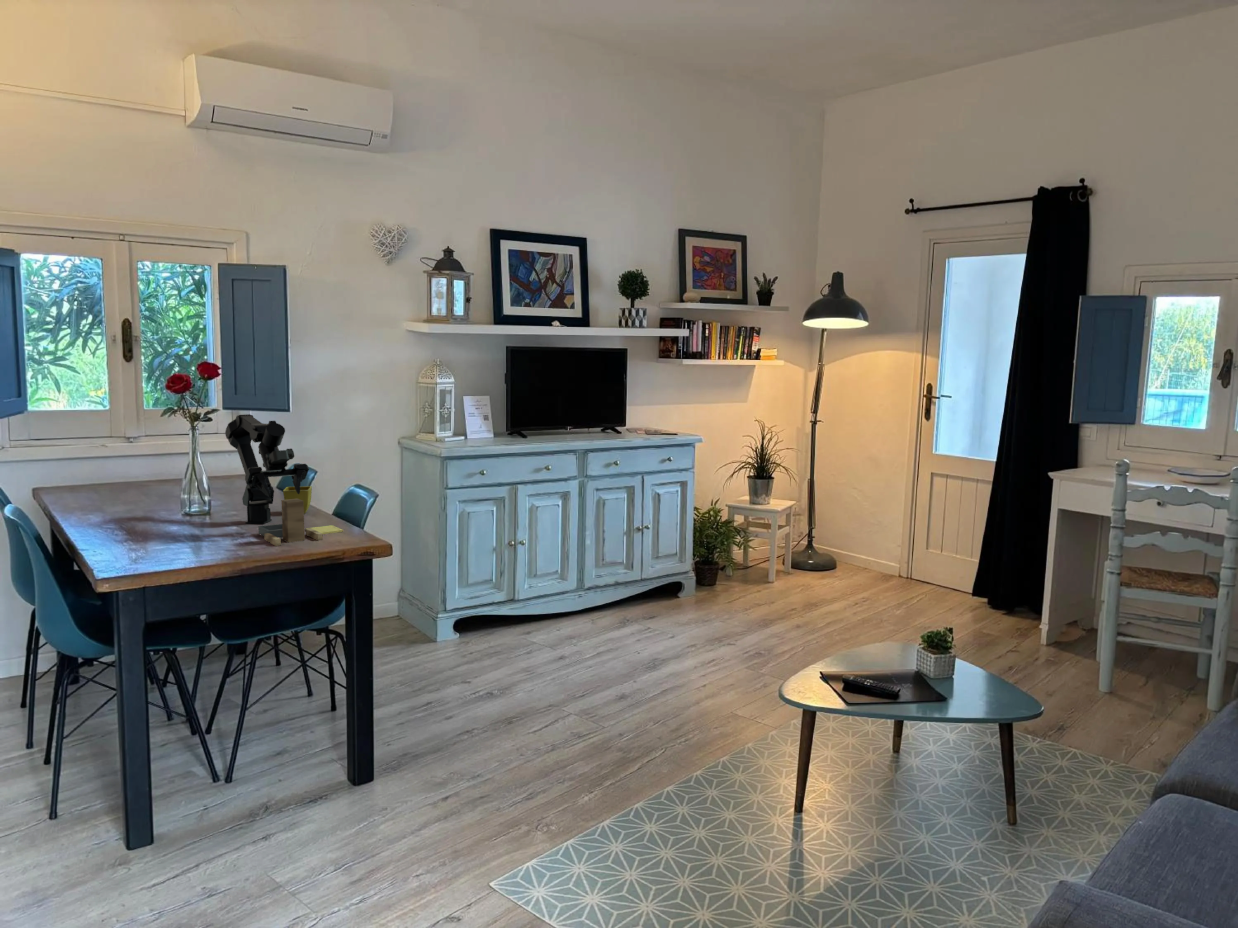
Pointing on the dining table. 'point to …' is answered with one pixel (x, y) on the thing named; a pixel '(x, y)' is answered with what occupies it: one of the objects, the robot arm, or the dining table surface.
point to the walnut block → (293, 520)
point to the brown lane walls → (277, 541)
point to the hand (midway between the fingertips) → (284, 494)
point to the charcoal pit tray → (271, 530)
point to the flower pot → (299, 495)
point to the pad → (327, 529)
